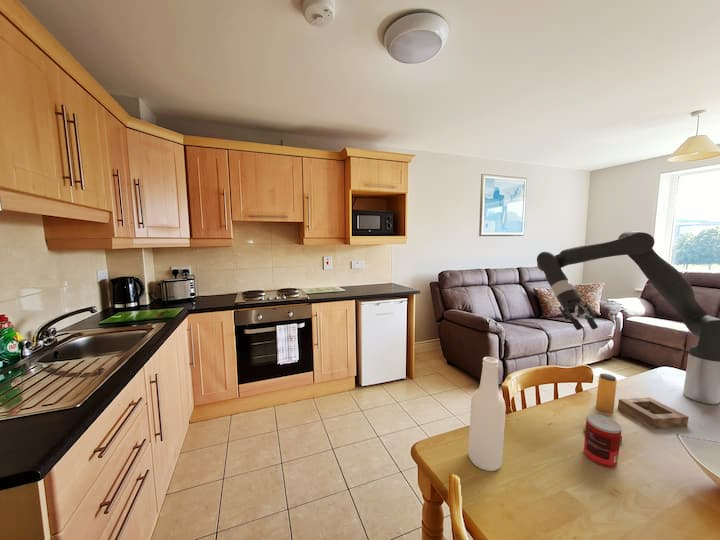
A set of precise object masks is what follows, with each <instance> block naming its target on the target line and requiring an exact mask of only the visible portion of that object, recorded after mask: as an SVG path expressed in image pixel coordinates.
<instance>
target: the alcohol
mask: <svg viewBox="0 0 720 540" xmlns="http://www.w3.org/2000/svg"><path fill="white" fill-rule="evenodd" d="M499 363H500V362H499V360H498V359H497V358H495V357H492V356H484V357H483V358H482V369H481V376H480V383H479V387H478V388H477V389H476V390H475V391H473V393H472V396H471V398H470V415H469V431H468V433H469V434H468V435H469V436H468V453H467V454H468V457H469V459H470V461H471V462H472V464H473V465H474V466H476V467H477V468H479V469H480V470H482V471H487V472H494V471H495V472H496V471H497V470H498V469H499V468H501V467H502V465H503V453H504V452H503V451H504V436H505V423H506V409H507V408H506V407H507V406H506V401H505V398H504V397H503V396H502V394H501V393H500V391H499V390H500V389H499V367H500V366H499Z"/></svg>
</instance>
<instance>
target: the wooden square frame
mask: <svg viewBox="0 0 720 540" xmlns="http://www.w3.org/2000/svg"><path fill="white" fill-rule="evenodd" d="M617 408H618V410H621V411H622V412H624V413H625V414H627V415H629V416H630V417H632V418H634V419H636V420H637V421H639V422H641V423H642V424H644V425H646V426H647V427H649V428H650V429H653V430H656V429H657V430H658V429H670V428H671V429H672V428H686V427H688V423H689V416H688V415H686V414H684V413H682V412H680V411H678V410H676V409H674V408H672V407H670V406H668V405H666V404H663V403H662V402H661V401H658V400H656V399H654V398H653V397H635V398H634V397H633V398H631V397H630V398H619V399H618V403H617Z"/></svg>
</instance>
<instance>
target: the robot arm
mask: <svg viewBox="0 0 720 540" xmlns="http://www.w3.org/2000/svg"><path fill="white" fill-rule="evenodd" d="M654 246H655V238H654V237H653V236H652V235H651V234H650V233H648V232H646V231H640V230H627V231H624V232H623V233H621V234H620V235H619V236H618V238H617V239H615V240H611V241H607V242H602V243H593V244H592V243H591V244H587V245H586V244H585V245H579V246H575V247H569V248H565V249H563V250H561V251H560V252H559V254H555V255H554V254H553V253H552V252H551V251H541V252H539V253H538V255H537V256H536V263H537V268H538V270H540V271H541V272H543V273H544V274H545V278H546V281H547V283H548V284H549V286H550V288H551V290H552V292H553V295H555V298H556V299H557V301H558V302H559V305H560V306H559V307H558V308H559V310H560V312H561V314H562V317H563V318H564V320H565V321H569V322H571V324H572V325H573V327H574V328H575V330H576V331H580V330H582V329H583V326H582V324H581V322H580V321H579V320H578V317H580V318H582V319H585V321H586V322H587V323H588V326H589V327H590V328H591V329H592V330H596V329H598V328H599V326H598V324H597V322H596V321H595V320H594V319H595V318H596V317H597V315H596V314H595V313H594V311H593V310H592V308H591V307H590V305H589V304H588V303H585V304H583V303H581V300H582V297H581V296H580V294H579V293H578V291H577V289H575V287H574V285H573V283H572V282H570V280H569V279H568V277H567V276H566V274H565V273H564V271H563V270H562V268H565V267H567V266H570V265H575V264H581V263H584V262H589V261H595V260H600V259H604V258H611V257H618V256H619V257H620V256H628V258H630V259H631V260H632V261H633V262H634V263H635V264H636V265H637V267H639V270H641V272H642V273H643V274H644V276H645V277H646V278H647V280H648V281H649V282H650V284H651V285H652V287H653V288H655V290H656V291H657V292H658V293H659V295H660V296H661V297H662V298H663V299H664V300H665V301H666V302H667V304H669V306H671V307H672V308H673V309H674V310H675V312H676V313H677V314H678V316H679V318H680V319H681V320H682V322H683V324H684V325H685V327H686V328H687V330H688V331H689V332H690V333H691V334H692V335H694V336H695V337H698V341H697V345H691V346H690V347H689V349H688V354H687V363H686V370H685V377H684V383H683V390H682V392H683V393H682V394H683V396H685V397H686V398H688V399H690V400H693V401H695V402H699V403H702V404H707V405H719V403H720V318H718V317H715V316H712V315H710V314H709V313H708V312H707V311H706V310H705V309H704V308H703V307H702V306H701V305H700V303H698V301H697V300H696V296H695V293H694V289H693V287H692V285H691V283H690V282H689V281H688V279H686V278H685V277H684V275H683V274H682V273H681V272H680V270H678V269H677V268H675V267H674V266H673V265H671V264H670V263H669V262H668V261H667V260H666V259H664V258H662V257H661V256H660V255H659V254H658V253H657V252H656V251H655V249H654Z"/></svg>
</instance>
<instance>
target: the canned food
mask: <svg viewBox="0 0 720 540" xmlns="http://www.w3.org/2000/svg"><path fill="white" fill-rule="evenodd" d="M586 420H587V421H585V424H586V431H584V432H585V433H584V443H583V451H584V454H585V456H586V457H587V458H588V459H589V460H590V461H592V462H594V464H597V465H599V466H602V467H606V468H613V467H616V466H617V464H618V462H619V453H620V445H621V443H620V439H621V436H622V426H621V424H620V423H618V422H617V421H615V420H614V419H612V418H611V417H608V416H606V415H602V414H597V413H591V414H588V415H587V417H586Z"/></svg>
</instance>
